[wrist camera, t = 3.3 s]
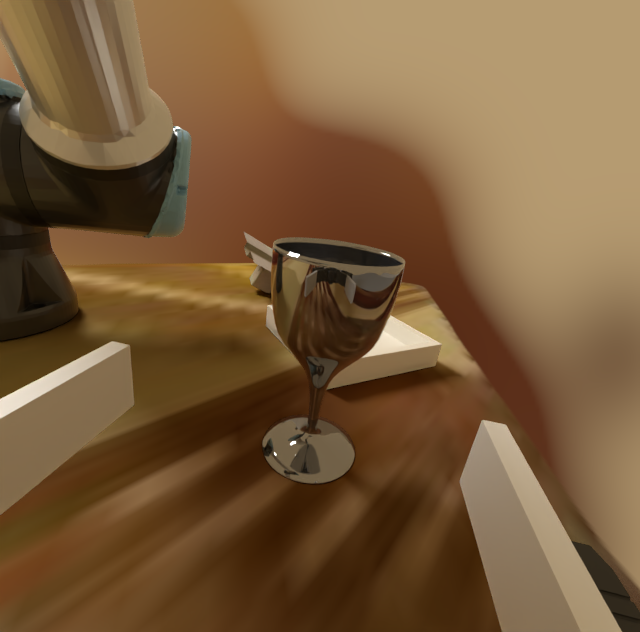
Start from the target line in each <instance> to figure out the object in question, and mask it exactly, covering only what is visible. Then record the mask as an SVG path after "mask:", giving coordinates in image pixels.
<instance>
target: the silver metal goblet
mask: <svg viewBox="0 0 640 632" xmlns="http://www.w3.org/2000/svg"><path fill="white" fill-rule="evenodd" d="M404 266H405V260H404V259H403V258H401V257H399V256H398V255H395V254H393V253H390V252H387V251H384V250H380V249H376V248H373V247H369V246H364V245H359V244H354V243H348V242H341V241H335V240H327V239H316V238H282V239H278V240H275V241H274V244H273V252H272V263H271V296H272V308H273V314H274V320H275V325H276V328H277V332H278V334H279V336H280V338H281V339H282V341H283V342H284V344H285V346H286V347H287V348H288V349H289V350H290V352H291V353H292V354H293V355H294V356H295V358H296V359H297V360H298V361H299V363H300V364H301V365H302V367H303V368H304V370H305V372H306V374H307V377H308V380H309V389H310V402H309V415H292V416H288V417H285V418H283V419H280V420H279V421H277V422H275V423H274V424H273V425H272V426H270V428H269V429H268V430H267V431H266V433H265V435H264V437H263V441H262V450H263V454H264V457H265V459H266V461H267V462H268V464H269V465H270V466H271V467H272V468H273V469H274V470H275V471H276V472H277V473H279V474H280V475H282V476H284V477H285V478H288V479H290V480H293V481H296V482H300V483H305V484H323V483H327V482H331V481H334V480H336V479H338V478H340V477H341V476H343V475H344V474H345V473H346V472H347V471H348V470H349V469H350V468H351V466H352V465H353V462H354V459H355V448H354V445H353V442H352V440H351V438H350V436H349V435H348V434H347V432H346V431H345V430H344V429H343V428H341V427H340V426H339V425H337V424H336V423H334V422H332V421H330V420H328V419H326V418H323V417H319V413H320V408H321V405H322V401H323V398H324V395H325V392H326V389H327V387H328V385H329V383H330V382H331V380H332V379H333V378H334V377H335V376H336V375H337V374H338V373H339V372H340V371H342V370H343V369H345V368H346V367H348V366H350V365H351V364H353V363H354V362H356V361H357V360H359V359H361V358H362V357H363V356H365V355H366V354H367V353H368V352H369V351H370V350H371V349H372V348H373V347H374V346H375V344H376V343H377V342H378V340H379V338H380V336H381V334H382V332H383V330H384V328H385V326H386V324H387V322H388V320H389V318H390V315H391V312H392V310H393V307H394V305H395V302H396V298H397V295H398V291H399V288H400V284H401V280H402V275H403V271H404Z"/></svg>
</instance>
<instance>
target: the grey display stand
mask: <svg viewBox="0 0 640 632" xmlns="http://www.w3.org/2000/svg"><path fill="white" fill-rule="evenodd" d="M244 234H245V237H246V239H247V243H246V245H245V251H246V252H245V253H246V255H247V256H248V257H249V258H251V259H253V260H254V262H255V263H256V264H258V266H257V267H256V269H255V270H254V272H253V273H252V275H251V277H250V281H251V284H252V285H253V286H254V287H256V288H258V289H260V290H262V291H264V292H266V293H271V263H272V252H273V249H271V248H270V247H268V246H266V245H265V244H263V243H261V242H260V241H258V240H256V239H255V238H253V237H252V236H250V235H248V234H247V233H244Z"/></svg>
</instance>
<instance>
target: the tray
mask: <svg viewBox="0 0 640 632" xmlns="http://www.w3.org/2000/svg"><path fill="white" fill-rule="evenodd" d="M266 326H267V327H268V328H269V330H270V331H271V332H272V333H273V334H274V335H275V336H276V337H277V338H278V339H279V340H280V341H281V343H282V344H283V345H284V346H285V344H284V342H283V341H282V339H281V338H280V336H279V334H278V332H277V328H276V325H275V320H274V314H273V308H272V305H268V307H267V319H266ZM441 345H442V344H440V343H439V342H437V341H435V340H433V339H432V338H430V337H428V336H426V335H424V334H423V333H421V332H419V331H417V330H416V329H414V328H412V327H410V326H408V325H407V324H405V323H403V322H401V321H399V320H398V319H396V318H394V317H392V316H391V315H390V318H389V320H388V322H387V324H386V326H385V328H384V330H383V332H382V334H381V336H380V338H379V340H378V342H377V343H376V344H375V346H374V347H373V348H372V349H371V350H370V351H369V352H368V353H367V354H366V355H365V356H363V357H362V358H361V359H359V360H357V361H356V362H354V363H353V364H351V365H350V366H348V367H346V368H345V369H343V370H342V371H340V372H339V373H338V374H337V375H336V376H335V377H334V378H333V379H332V380H331V382H330V383H329V385H328V387H327V389H331V388H336V387H340V386H345V385H350V384H354V383H359V382H364V381H368V380H373V379H377V378H382V377H387V376H391V375H396V374H401V373H405V372H410V371H414V370H419V369H424V368H428V367H433V366H435V365H436V362H437V359H438V355H439V352H440V349H441ZM285 347H286V346H285ZM286 348H287V347H286ZM287 349H288V348H287ZM288 350H289V349H288ZM289 351H290V350H289ZM292 355H293V354H292ZM293 356H294V355H293ZM294 357H295V356H294ZM327 389H326V390H327Z"/></svg>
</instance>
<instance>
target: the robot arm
mask: <svg viewBox="0 0 640 632" xmlns="http://www.w3.org/2000/svg"><path fill="white" fill-rule="evenodd" d="M0 39H1V41H2V43H3V45H4V47H5V48H6V50H7V52H8V54H9V56H10V58H11V60H12V62H13V64H14V66H15V68H16V70H17V72H18V73H19V75H20V77H21V79H22V81H23V83H24V85H25V87H26V89H27V90H26V91H25V90H24V89H23V88H22V87H20V86H19V85H17V84H15V83H12V82H10V81H7V80H4V79H0V341H1V340H7V339H13V338H18V337H23V336H27V335H31V334H35V333H39V332H42V331H45V330H48V329H51V328H54V327H57V326H59V325H61V324H63V323H65V322H67V321H69V320H70V319H72V318H73V317H74V316H75V315H76V314H77V313H78V310H79V308H78V301H77V294H76V291H75V289H74V287H73V285H72V284H71V282H70V280H69V278H68V277H67V275H66V273H65V271H64V269H63V268H62V266H61V264H60V262H59V261H58V259H57V257H56V255H55V254H54V252H53V250H52V247H51V242H50V236H49V230H48V227H50V228H63V229H75V230H84V231H94V232H104V233H114V234H124V235H135V236H143V237H146V238H150V237H152V236H156V237H157V236H159V237H174V236H177V235H178V234H180V233H181V232H182V230H183V228H184V222H185V213H186V201H187V188H188V178H189V166H190V153H191V136H190V134H189V133H188V132H187V131H185V130H182V129H181V128H179V127H176V126H174V127H173V122H172V118H171V114H170V111H169V109H168V107H167V105H166V104H165V103H164V101H163V100H162V99H161V98H160V97H159V96H158V95H157V94H156V93H155V92H154V91H153V90H151V89H150V88H149V87H148V81H147V75H146V70H145V64H144V59H143V53H142V48H141V42H140V36H139V31H138V25H137V20H136V15H135V9H134V4H133V0H0ZM132 406H134V392H133V379H132V366H131V353H130V345H127V344H123V343H118V342H113V341H111V342H110V343H108V344H106V345H104V346H102V347H100V348H98V349H96V350H94V351H92V352H90V353H88V354H86V355H84V356H82V357H81V358H79V359H77V360H75V361H73V362H71V363H69V364H67V365H65V366H63V367H61V368H59V369H57V370H55V371H53V372H51V373H50V374H48V375H46V376H44V377H42V378H40V379H38V380H36V381H34V382H32V383H30V384H28V385H26V386H24V387H22V388H21V389H19V390H17V391H15V392H13V393H11V394H9V395H7V396H5V397H3V398H1V399H0V515H1V514H2V513H3V512H5V511H6V510H7V509H8V508H10V507H11V506H12V505H13V504H14V503H16V502H17V501H18V500H19V499H20V498H22V497H23V496H24V495H25V494H27V493H28V492H29V491H30V490H31V489H33V488H34V487H35V486H36V485H38V484H39V483H40V482H41V481H42V480H44V479H45V478H46V477H47V476H48V475H50V474H51V473H52V472H53V471H55V470H56V469H57V468H58V467H59V466H61V465H62V464H63V463H64V462H65V461H67V460H68V459H69V458H70V457H72V456H73V455H74V454H75V453H76V452H78V451H79V450H80V449H81V448H83V447H84V446H85V445H86V444H87V443H89V442H90V441H91V440H92V439H93V438H95V437H96V436H97V435H98V434H100V433H101V432H102V431H103V430H104V429H106V428H107V427H108V426H109V425H111V424H112V423H113V422H114V421H115V420H117V419H118V418H119V417H120V416H121V415H123V414H124V413H125V412H126V411H128V410H129V409H130V408H131V407H132ZM460 485H461V488H462V492H463V496H464V499H465V503H466V506H467V510H468V513H469V517H470V520H471V524H472V528H473V531H474V535H475V538H476V542H477V545H478V549H479V552H480V556H481V559H482V563H483V567H484V570H485V574H486V577H487V581H488V584H489V588H490V591H491V595H492V599H493V602H494V606H495V609H496V613H497V616H498V620H499V623H500V627H501V630H502V632H640V612H639V610H638V609H637V607H636V606H635V604H634V603H633V602H631V601H630V596H629V594H628V593H627V591H626V590H625V588H624V587H623V585H622V583H621V582H620V580H619V579H618V577H617V575H616V574H615V572H614V571H613V569H612V568H611V567H610V566H609V565H608V564H607V563H606V562H605V561H604V560H603V559H602V558H601V557H600V556H599V555H598V554H597V553H596V552H595V550H594V549H593V548H592V547H591V546H589V545H585V544H581V543H577V542H573V541H571V540H570V538H569V536H568V535H567V533H566V531H565V529H564V528H563V526H562V524H561V522H560V520H559V519H558V517H557V515H556V513H555V511H554V510H553V508H552V506H551V504H550V503H549V501H548V499H547V497H546V495H545V494H544V492H543V490H542V488H541V487H540V485H539V483H538V481H537V479H536V478H535V476H534V474H533V472H532V471H531V469H530V467H529V465H528V463H527V462H526V460H525V458H524V456H523V454H522V453H521V451H520V449H519V447H518V446H517V444H516V442H515V440H514V438H513V437H512V435H511V433H510V431H509V430H508V428H507V426H506V425H504V424H500V423H495V422H490V421H486V420H482V422H481V424H480V427H479V430H478V432H477V435H476V438H475V441H474V443H473V446H472V449H471V451H470V454H469V457H468V460H467V462H466V465H465V468H464V470H463V473H462V476H461V478H460Z"/></svg>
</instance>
